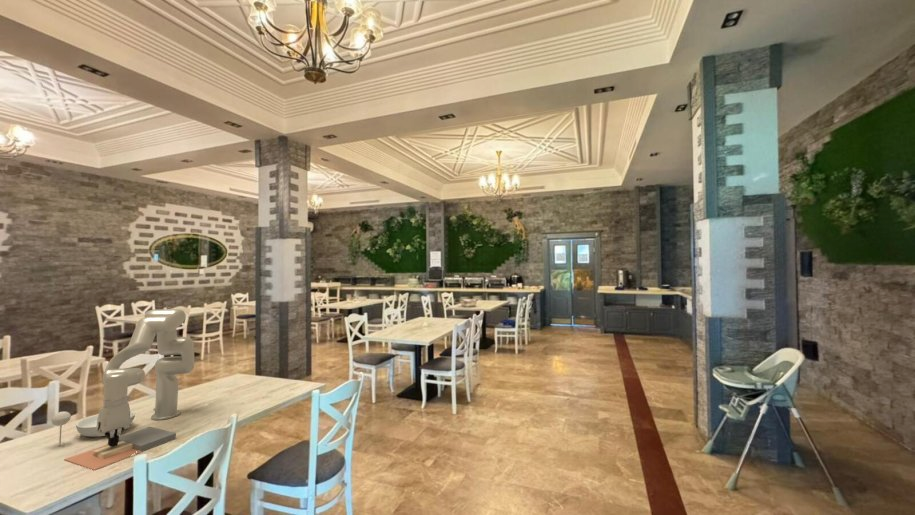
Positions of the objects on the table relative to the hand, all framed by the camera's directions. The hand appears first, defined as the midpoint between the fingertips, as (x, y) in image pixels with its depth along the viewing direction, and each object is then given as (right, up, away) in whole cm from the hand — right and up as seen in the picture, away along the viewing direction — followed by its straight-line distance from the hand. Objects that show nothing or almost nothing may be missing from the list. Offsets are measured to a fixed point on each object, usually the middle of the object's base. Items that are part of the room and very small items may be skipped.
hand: (113, 445), depth 157 cm
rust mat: (-1, -3, -3) cm, 4 cm away
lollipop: (-30, -4, +6) cm, 31 cm away
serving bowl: (-23, -5, +21) cm, 31 cm away
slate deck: (+4, -4, +11) cm, 12 cm away
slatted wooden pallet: (0, -3, 0) cm, 3 cm away
